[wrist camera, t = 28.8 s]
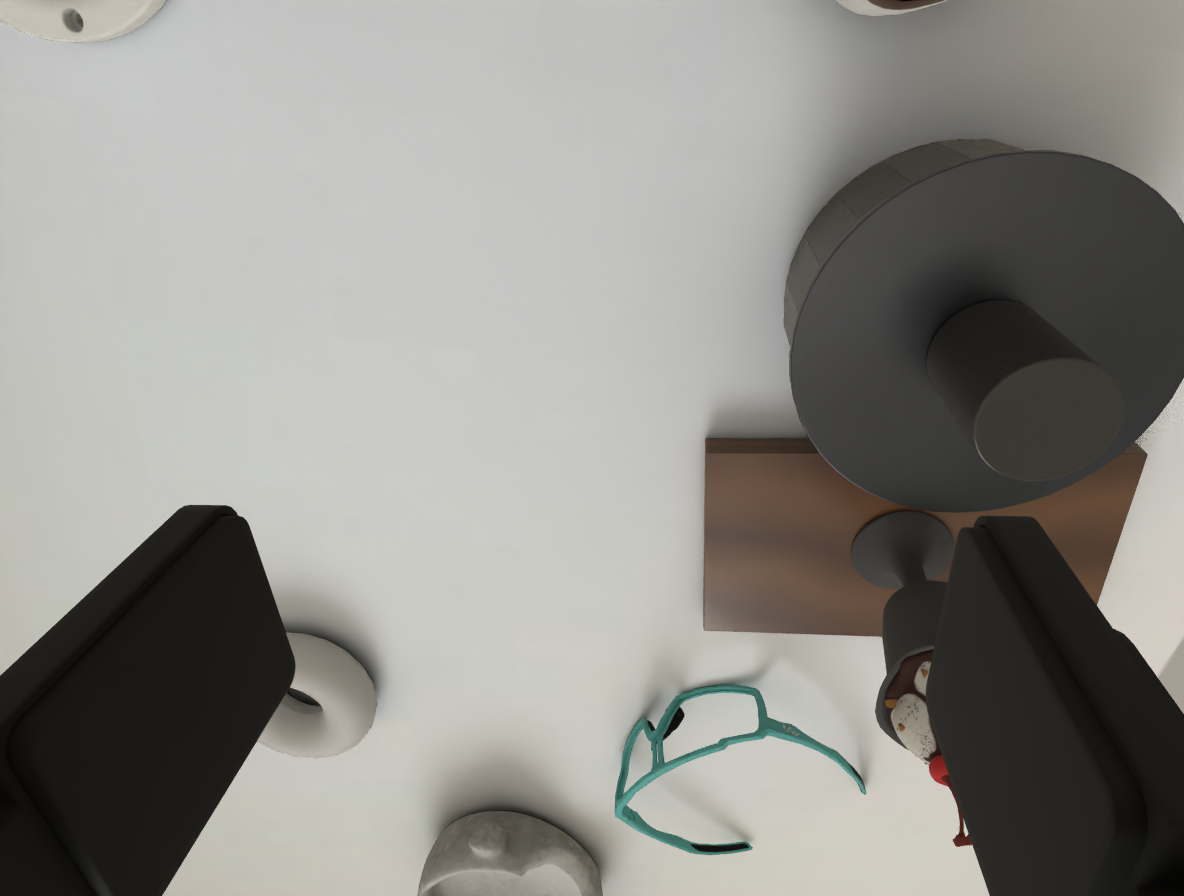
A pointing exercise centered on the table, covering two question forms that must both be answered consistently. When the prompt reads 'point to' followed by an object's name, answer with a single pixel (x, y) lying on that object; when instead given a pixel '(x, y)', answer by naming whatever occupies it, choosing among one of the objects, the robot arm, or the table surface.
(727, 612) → the board
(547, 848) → the dish
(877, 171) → the pan
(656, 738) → the sunglasses
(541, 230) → the table surface
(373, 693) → the donut
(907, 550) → the sundae
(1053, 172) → the lid
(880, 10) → the spread jar
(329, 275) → the table surface
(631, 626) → the table surface
